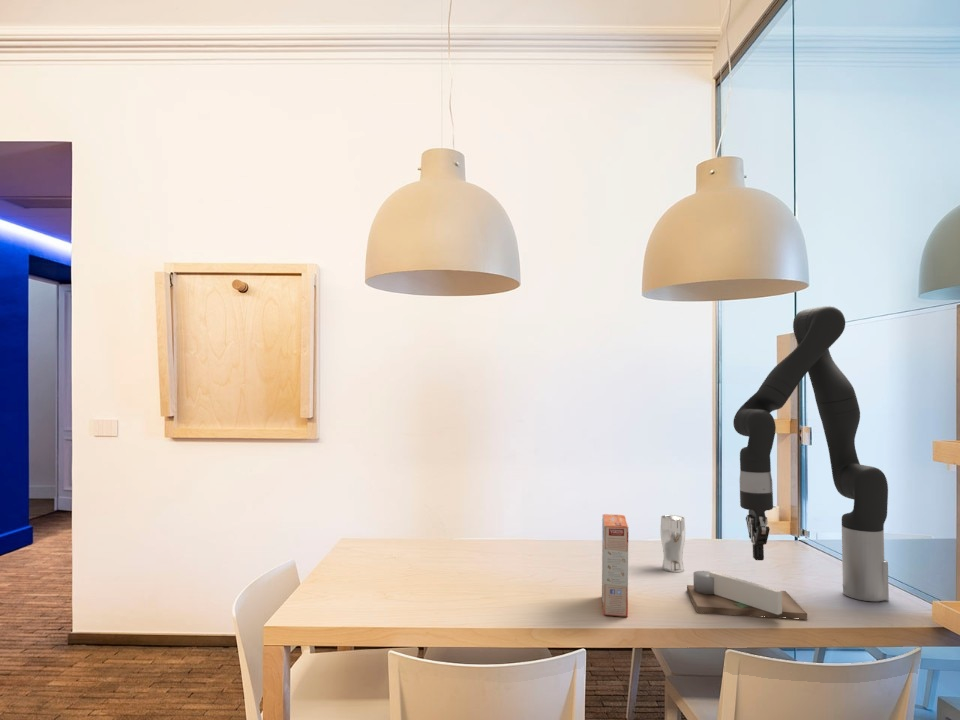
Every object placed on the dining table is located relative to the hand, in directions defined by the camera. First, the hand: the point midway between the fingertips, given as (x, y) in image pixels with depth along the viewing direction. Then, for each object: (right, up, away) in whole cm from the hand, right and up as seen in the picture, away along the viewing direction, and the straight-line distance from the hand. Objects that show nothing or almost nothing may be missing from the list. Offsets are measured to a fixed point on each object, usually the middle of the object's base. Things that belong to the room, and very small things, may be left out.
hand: (758, 559), depth 155 cm
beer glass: (-13, -12, +27) cm, 32 cm away
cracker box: (-37, -10, -4) cm, 38 cm away
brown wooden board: (-5, -10, -2) cm, 12 cm away
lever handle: (-7, -8, -4) cm, 12 cm away
